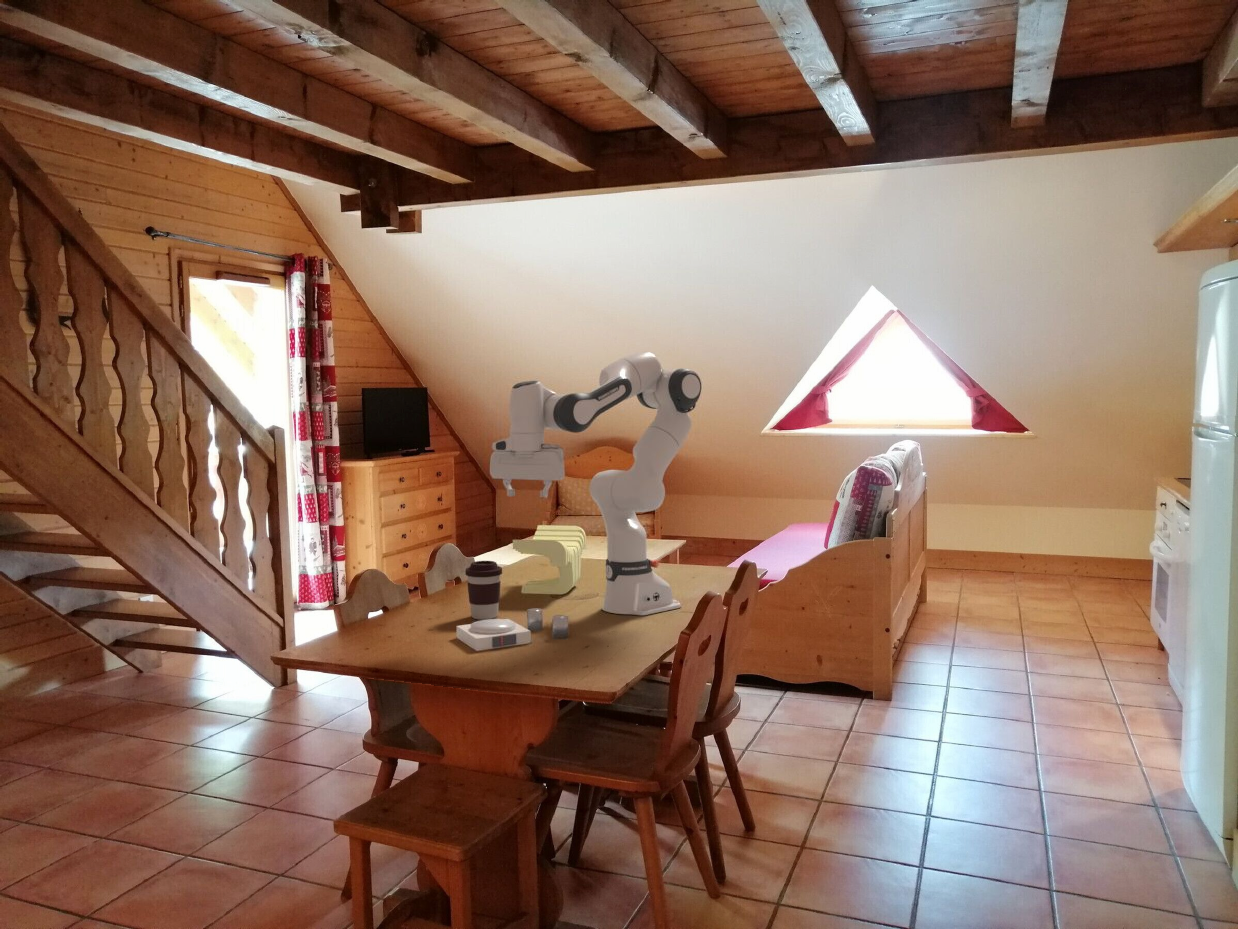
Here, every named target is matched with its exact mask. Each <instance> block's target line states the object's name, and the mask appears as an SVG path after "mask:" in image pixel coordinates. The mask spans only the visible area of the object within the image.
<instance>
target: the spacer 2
mask: <svg viewBox="0 0 1238 929" xmlns="http://www.w3.org/2000/svg"><path fill="white" fill-rule="evenodd" d="M551 619H552V620H551V621H552V622H551V623H552V624H551V625H552V626H551V627H552V630H551V632H552V638H553V639H559V640H560V639H566V638H569V615H566V614H565V615H564V614H557V615H553V616H552V618H551Z"/></svg>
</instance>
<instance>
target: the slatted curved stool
mask: <svg viewBox="0 0 1238 929" xmlns="http://www.w3.org/2000/svg"><path fill="white" fill-rule="evenodd" d="M586 549H587V536H586V532H585V530H584V529H583V527H580V526H578V525H557V524H556V525H555V524H554V525H551V524H549V525H548V524H545V525H541V524H538V525H537V528H536V531H535V533H534V536H532V539H512V550H515V551H516V552H518V553H520V554H521V555H522V554H523V555H535V556H541V557H545V558H547V559H548V560H549V562H550V565H551V567H557V569H558V573H559V574H558V575H559V577H554V578H542V579H541V578H540V579H539V578H536V579H535V578H532V579H530V580H528V581H527V582H526V583H524V584H523V585H522V587H521V594H539V595H540V594H542V595H564V594H567V593H568V592H569V591H570V590H572V588H574V586H576V585H577V584H578V583H579V581H580V579H581V570H582V568H581V566H582V565H581V564H582V554H583V552H584V550H586Z"/></svg>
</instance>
